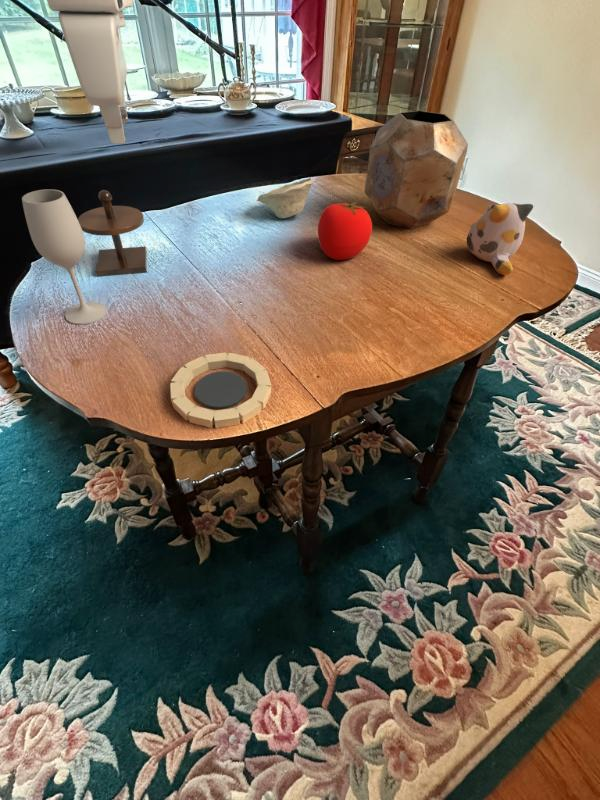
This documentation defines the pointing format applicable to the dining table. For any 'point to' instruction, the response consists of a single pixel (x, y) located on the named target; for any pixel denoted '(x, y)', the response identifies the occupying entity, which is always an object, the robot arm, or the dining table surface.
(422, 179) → the planter
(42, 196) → the wineglass
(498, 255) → the figurine
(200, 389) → the coaster
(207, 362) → the hoop
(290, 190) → the bowl
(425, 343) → the dining table surface
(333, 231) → the tomato
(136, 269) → the rack
